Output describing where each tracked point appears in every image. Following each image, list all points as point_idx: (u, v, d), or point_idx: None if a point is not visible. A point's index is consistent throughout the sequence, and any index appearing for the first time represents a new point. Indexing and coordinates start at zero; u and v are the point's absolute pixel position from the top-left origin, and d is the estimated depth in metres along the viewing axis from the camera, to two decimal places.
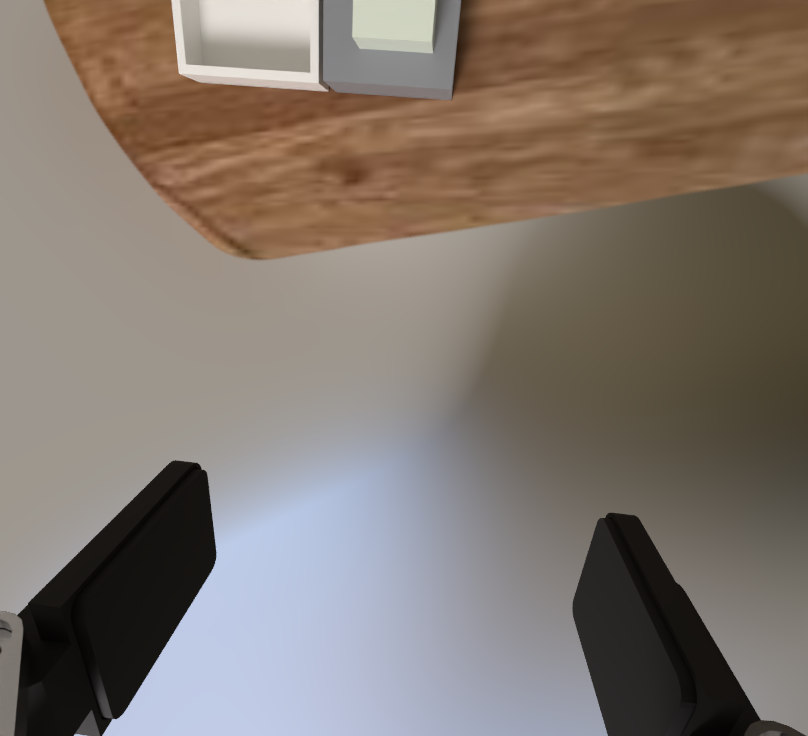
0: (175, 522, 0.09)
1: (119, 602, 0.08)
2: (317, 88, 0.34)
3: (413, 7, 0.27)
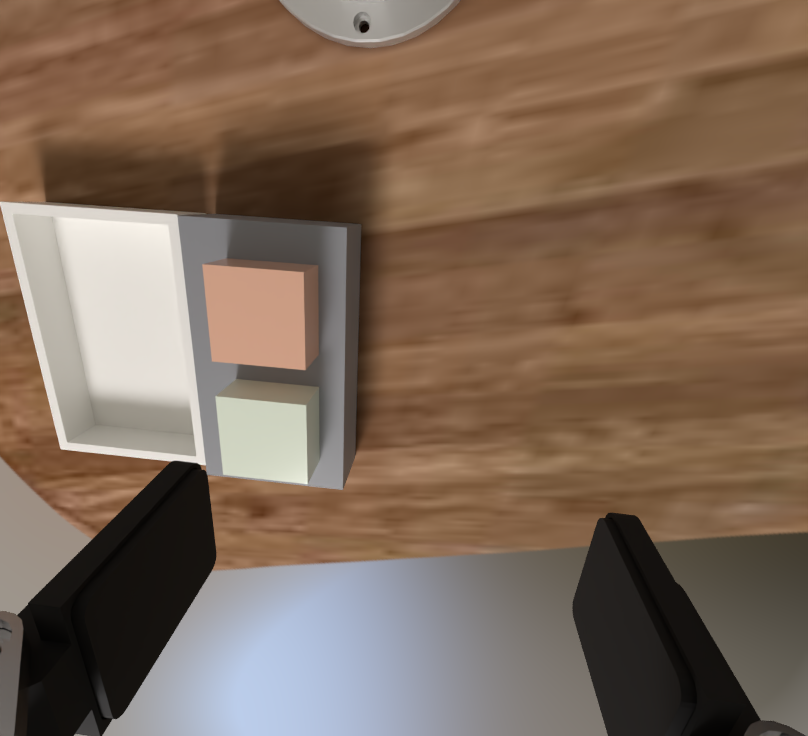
0: (175, 522, 0.09)
1: (119, 602, 0.08)
2: None
3: (284, 456, 0.25)
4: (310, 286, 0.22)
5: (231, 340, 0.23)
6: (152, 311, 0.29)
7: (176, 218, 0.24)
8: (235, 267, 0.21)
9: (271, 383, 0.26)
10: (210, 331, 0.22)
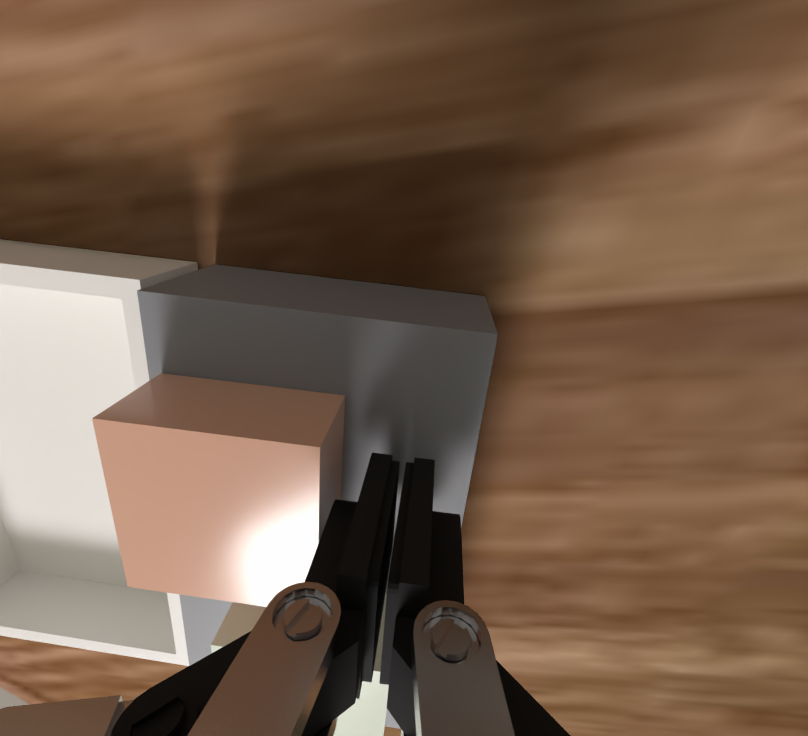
0: (392, 508, 0.10)
1: (381, 577, 0.08)
2: None
3: None
4: (331, 453, 0.11)
5: (165, 556, 0.11)
6: None
7: (137, 287, 0.12)
8: (166, 428, 0.09)
9: None
10: (119, 538, 0.11)
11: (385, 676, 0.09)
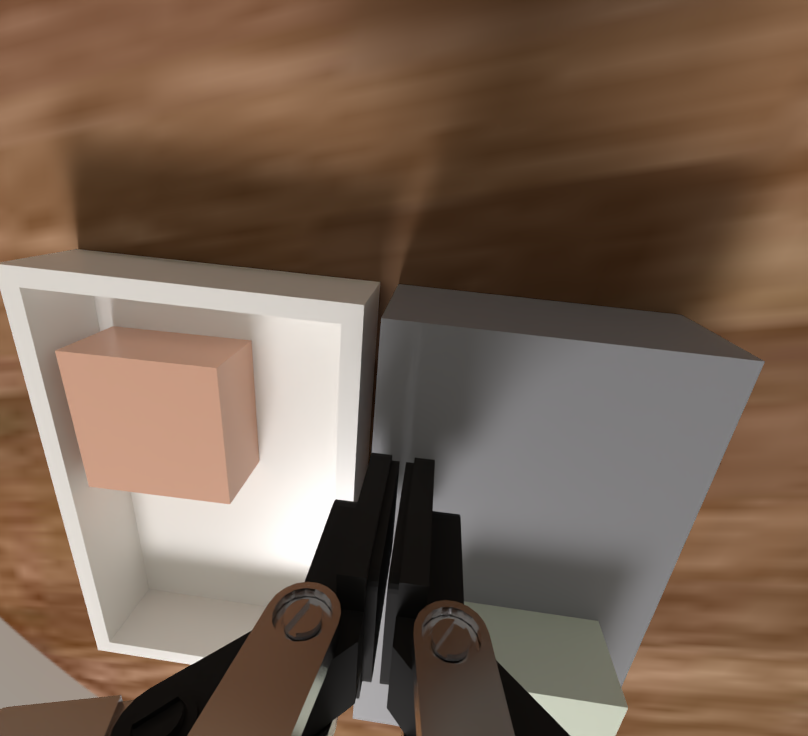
0: (392, 508, 0.10)
1: (381, 577, 0.08)
2: None
3: None
4: None
5: None
6: (260, 439, 0.17)
7: (360, 312, 0.12)
8: (205, 336, 0.15)
9: (508, 612, 0.14)
10: (255, 424, 0.17)
11: (385, 676, 0.09)
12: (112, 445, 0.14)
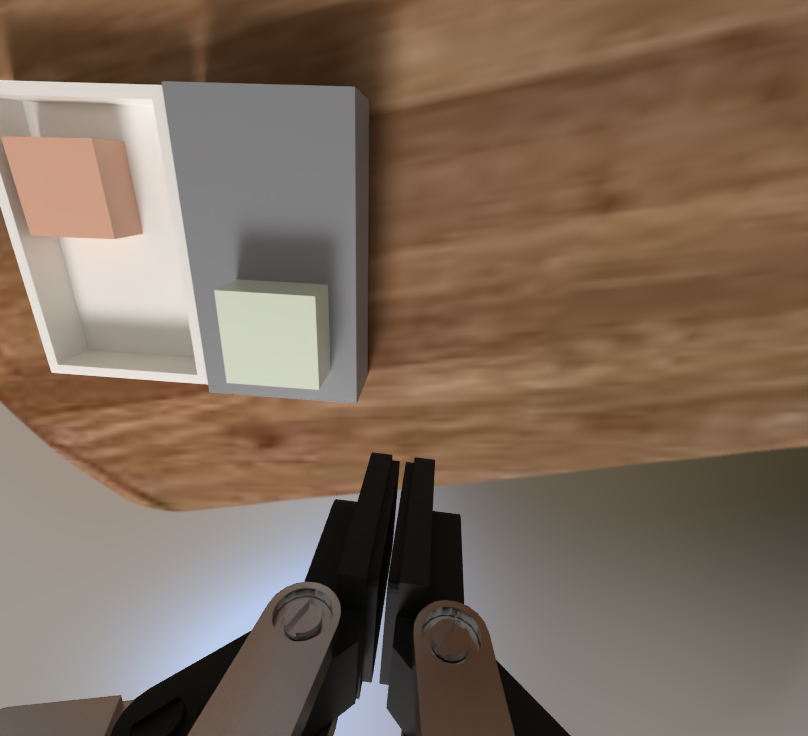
0: (392, 508, 0.10)
1: (381, 576, 0.08)
2: None
3: (293, 358, 0.23)
4: None
5: None
6: (141, 216, 0.26)
7: (161, 90, 0.21)
8: None
9: (275, 282, 0.23)
10: (136, 204, 0.26)
11: (385, 676, 0.09)
12: (41, 202, 0.24)
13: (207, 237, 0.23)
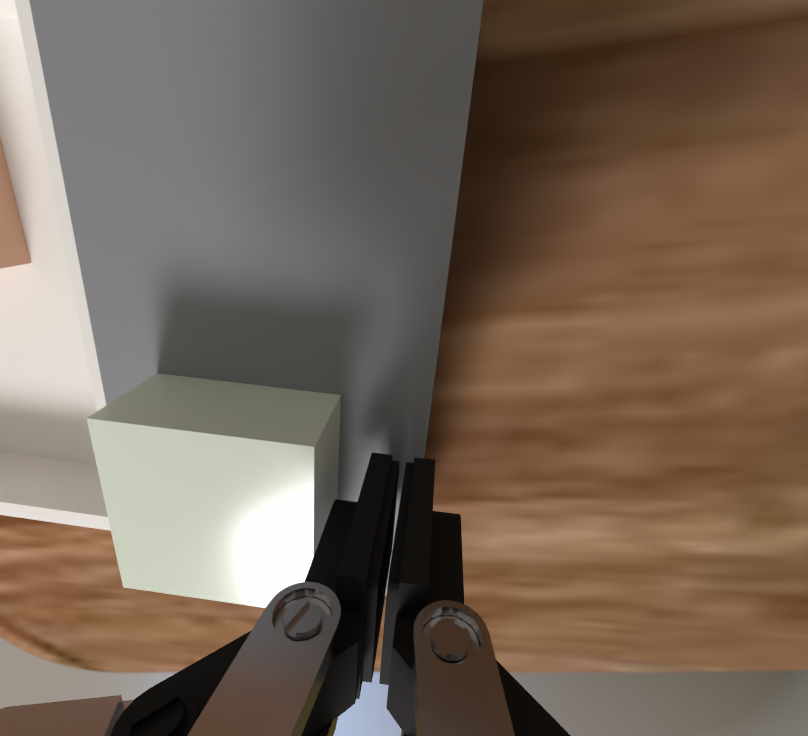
0: (392, 508, 0.10)
1: (381, 576, 0.08)
2: None
3: (260, 558, 0.11)
4: None
5: None
6: (27, 231, 0.14)
7: None
8: None
9: (233, 385, 0.12)
10: (17, 210, 0.14)
11: (385, 676, 0.09)
12: None
13: (129, 290, 0.11)
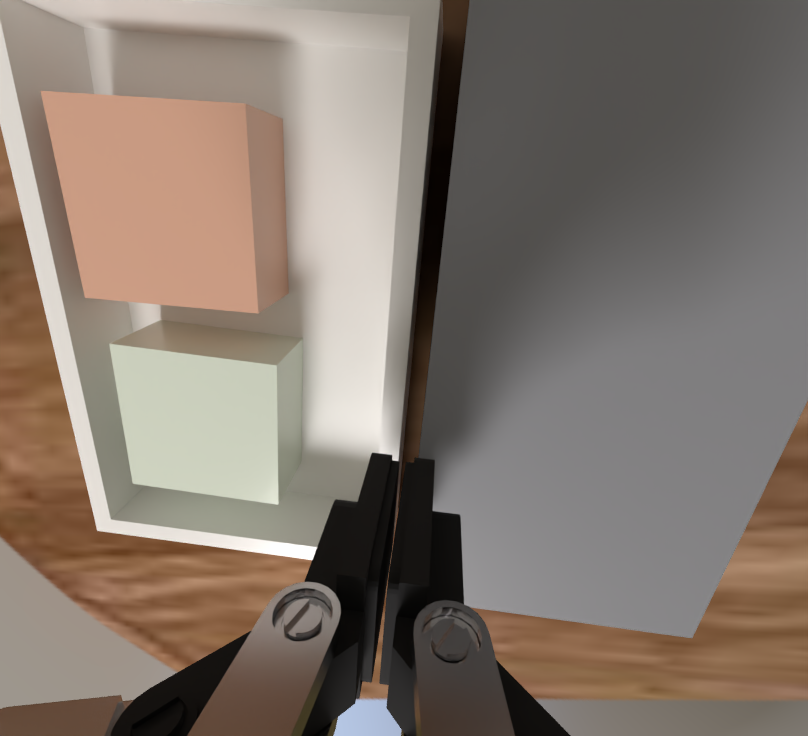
0: (392, 508, 0.10)
1: (381, 577, 0.08)
2: None
3: None
4: None
5: None
6: (291, 262, 0.14)
7: None
8: None
9: (205, 353, 0.13)
10: (285, 241, 0.14)
11: (385, 676, 0.09)
12: (114, 233, 0.12)
13: (483, 330, 0.11)
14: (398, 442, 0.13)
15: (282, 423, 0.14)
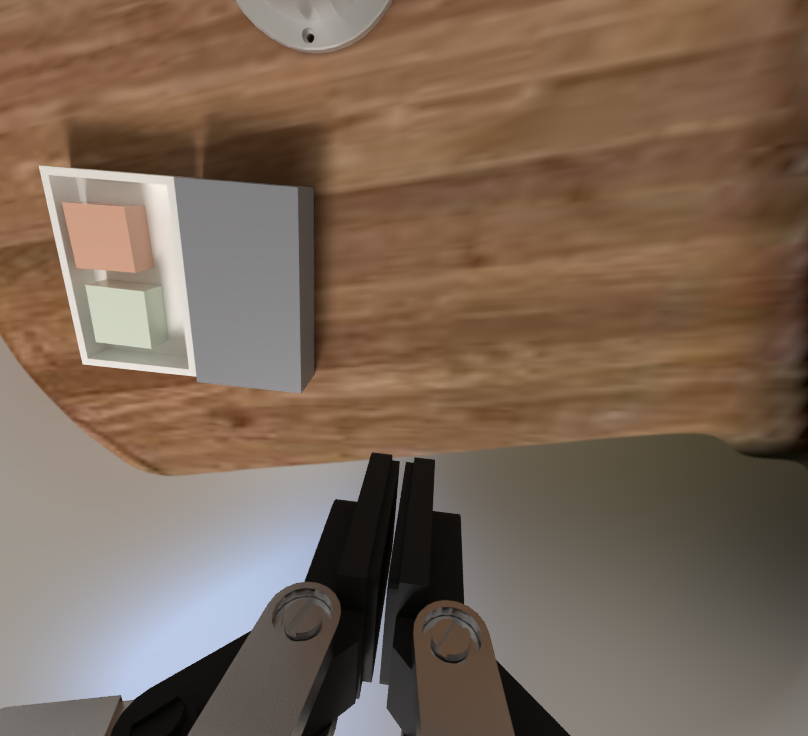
0: (392, 508, 0.10)
1: (381, 577, 0.08)
2: None
3: None
4: None
5: None
6: (153, 255, 0.37)
7: (172, 179, 0.32)
8: (125, 204, 0.36)
9: (119, 288, 0.36)
10: (150, 247, 0.37)
11: (385, 676, 0.09)
12: (85, 246, 0.35)
13: (200, 275, 0.34)
14: (189, 319, 0.36)
15: (150, 316, 0.37)
